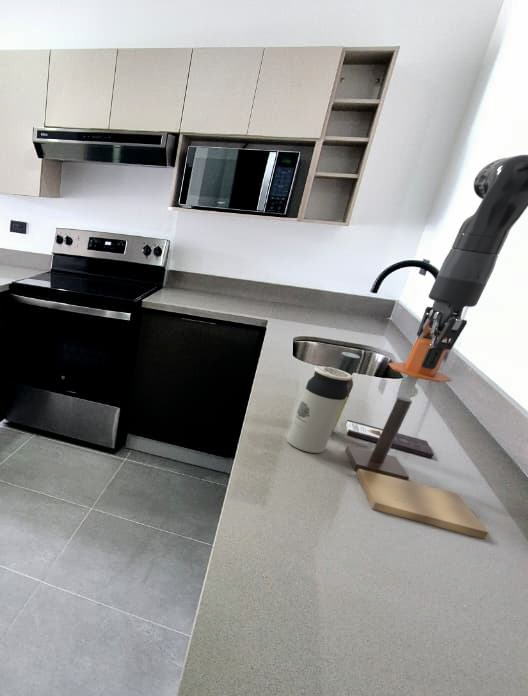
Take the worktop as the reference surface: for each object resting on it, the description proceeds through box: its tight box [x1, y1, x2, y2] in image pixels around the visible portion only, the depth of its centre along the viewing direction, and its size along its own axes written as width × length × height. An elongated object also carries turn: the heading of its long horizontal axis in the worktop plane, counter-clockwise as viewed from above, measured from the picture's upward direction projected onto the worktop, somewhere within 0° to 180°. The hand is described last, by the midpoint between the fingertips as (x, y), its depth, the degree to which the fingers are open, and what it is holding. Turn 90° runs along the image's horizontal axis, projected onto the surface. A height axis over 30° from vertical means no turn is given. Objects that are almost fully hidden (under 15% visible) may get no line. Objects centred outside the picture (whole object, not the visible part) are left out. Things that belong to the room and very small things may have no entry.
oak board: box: [355, 469, 489, 540], centre depth 96 cm, size 18×14×2 cm
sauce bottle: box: [331, 351, 361, 434], centre depth 121 cm, size 7×6×20 cm
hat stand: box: [344, 396, 413, 481], centre depth 106 cm, size 10×10×16 cm
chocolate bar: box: [345, 419, 434, 459], centre depth 124 cm, size 9×1×18 cm
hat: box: [387, 337, 452, 383], centre depth 99 cm, size 10×10×6 cm
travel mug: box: [286, 365, 353, 454], centre depth 111 cm, size 8×8×18 cm
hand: (422, 363), depth 99 cm, fingers closed on hat, 5 cm apart
